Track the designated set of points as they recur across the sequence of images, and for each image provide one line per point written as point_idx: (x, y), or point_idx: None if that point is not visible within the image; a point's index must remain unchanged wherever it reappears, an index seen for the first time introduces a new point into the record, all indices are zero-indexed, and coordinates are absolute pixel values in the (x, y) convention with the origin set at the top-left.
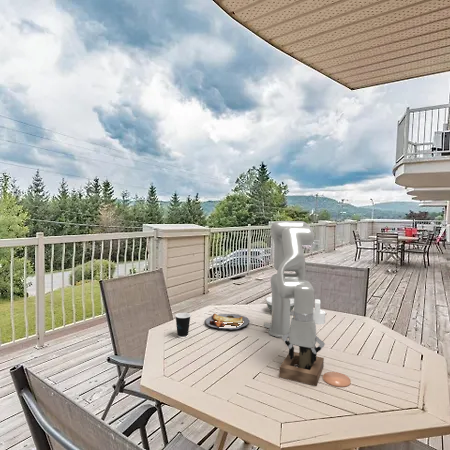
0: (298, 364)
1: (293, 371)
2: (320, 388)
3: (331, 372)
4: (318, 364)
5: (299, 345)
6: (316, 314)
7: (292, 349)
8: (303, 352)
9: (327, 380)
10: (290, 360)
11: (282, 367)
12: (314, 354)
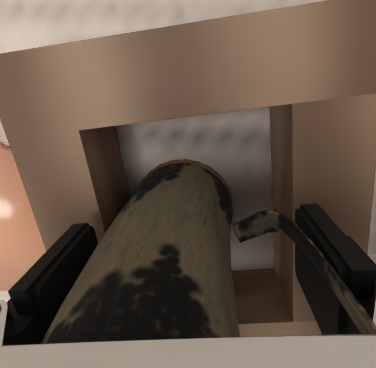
0: (251, 274)
1: (215, 21)
2: (9, 51)
3: None
4: None
5: (194, 343)
6: None
7: None
8: (145, 268)
9: (8, 166)
10: None
11: (354, 2)
12: (21, 302)
